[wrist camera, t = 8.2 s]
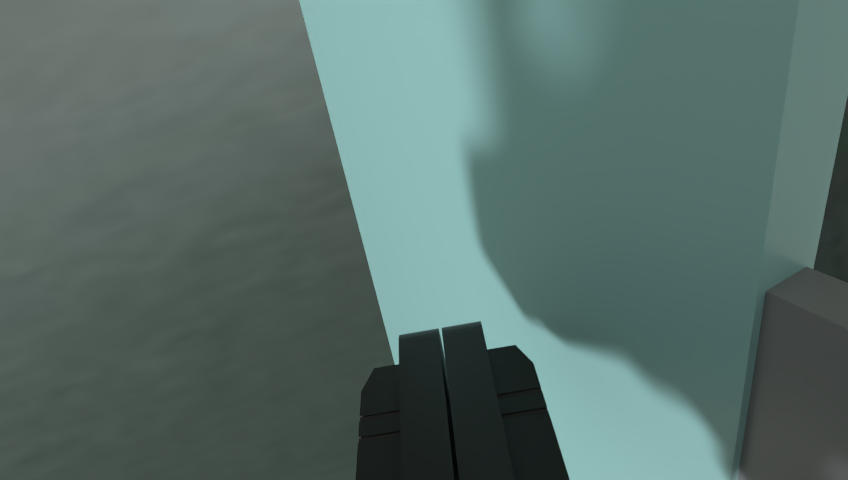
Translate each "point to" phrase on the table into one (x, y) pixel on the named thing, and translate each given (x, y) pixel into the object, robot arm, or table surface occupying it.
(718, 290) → the case lid
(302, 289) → the table surface
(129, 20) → the table surface
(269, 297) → the table surface
